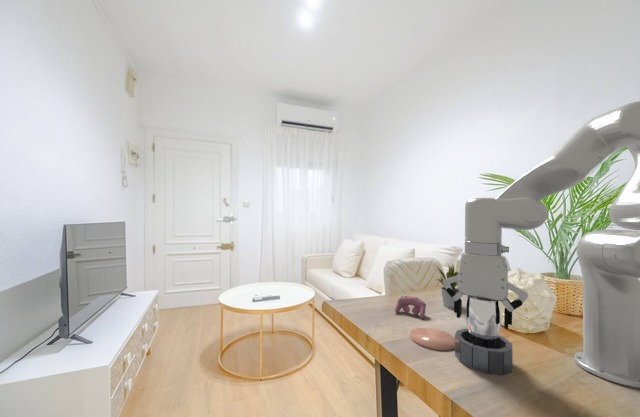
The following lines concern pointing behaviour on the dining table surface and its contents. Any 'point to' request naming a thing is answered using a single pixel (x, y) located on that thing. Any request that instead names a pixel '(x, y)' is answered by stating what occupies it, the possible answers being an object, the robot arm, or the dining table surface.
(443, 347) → the coaster
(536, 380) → the dining table surface
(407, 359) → the dining table surface
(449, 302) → the house plant
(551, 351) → the dining table surface
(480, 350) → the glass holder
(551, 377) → the dining table surface
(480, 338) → the beer glass
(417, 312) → the video game controller
